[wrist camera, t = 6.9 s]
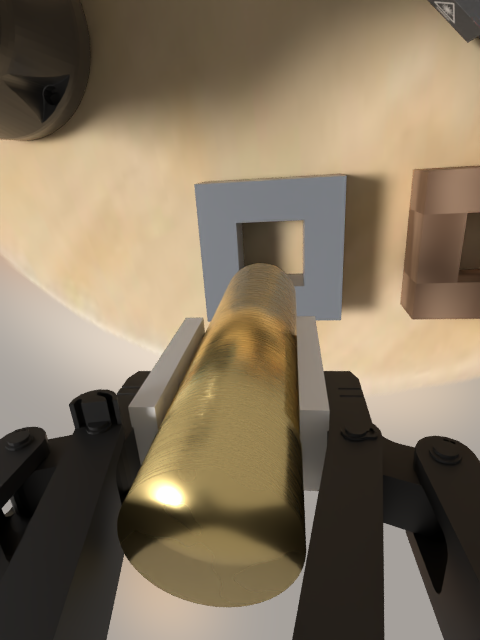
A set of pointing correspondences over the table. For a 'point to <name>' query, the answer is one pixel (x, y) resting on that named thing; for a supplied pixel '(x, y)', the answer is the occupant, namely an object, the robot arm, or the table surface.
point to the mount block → (276, 205)
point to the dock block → (440, 245)
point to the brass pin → (227, 459)
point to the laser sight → (461, 16)
